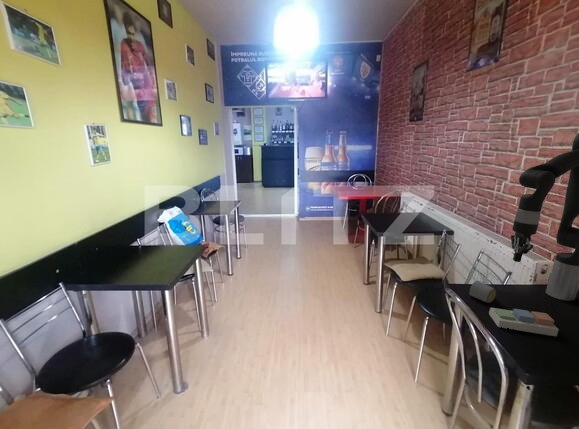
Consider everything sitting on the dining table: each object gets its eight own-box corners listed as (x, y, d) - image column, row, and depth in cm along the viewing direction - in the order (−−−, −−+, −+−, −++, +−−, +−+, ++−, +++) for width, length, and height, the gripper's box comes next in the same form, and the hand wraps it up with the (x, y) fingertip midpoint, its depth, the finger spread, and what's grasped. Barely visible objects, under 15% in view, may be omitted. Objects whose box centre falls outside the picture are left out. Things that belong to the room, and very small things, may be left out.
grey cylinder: (487, 306, 125) (491, 290, 124) (467, 297, 132) (471, 282, 130) (498, 299, 131) (502, 284, 129) (479, 291, 138) (482, 277, 136)
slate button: (526, 316, 114) (528, 310, 114) (533, 324, 110) (534, 318, 109) (511, 314, 115) (513, 308, 115) (517, 322, 111) (519, 315, 110)
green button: (507, 316, 116) (509, 310, 115) (513, 323, 111) (515, 317, 111) (493, 314, 117) (495, 308, 116) (499, 321, 113) (500, 315, 112)
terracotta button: (544, 319, 113) (546, 313, 112) (552, 327, 108) (554, 320, 107) (529, 317, 114) (531, 311, 113) (536, 324, 109) (538, 318, 109)
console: (542, 322, 115) (544, 315, 114) (556, 336, 107) (558, 329, 106) (489, 313, 120) (490, 307, 119) (498, 327, 111) (499, 320, 110)
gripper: (547, 226, 107) (535, 269, 111) (528, 217, 119) (519, 256, 124) (524, 224, 109) (513, 266, 113) (508, 215, 121) (499, 254, 126)
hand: (516, 261), depth 119 cm, fingers closed
